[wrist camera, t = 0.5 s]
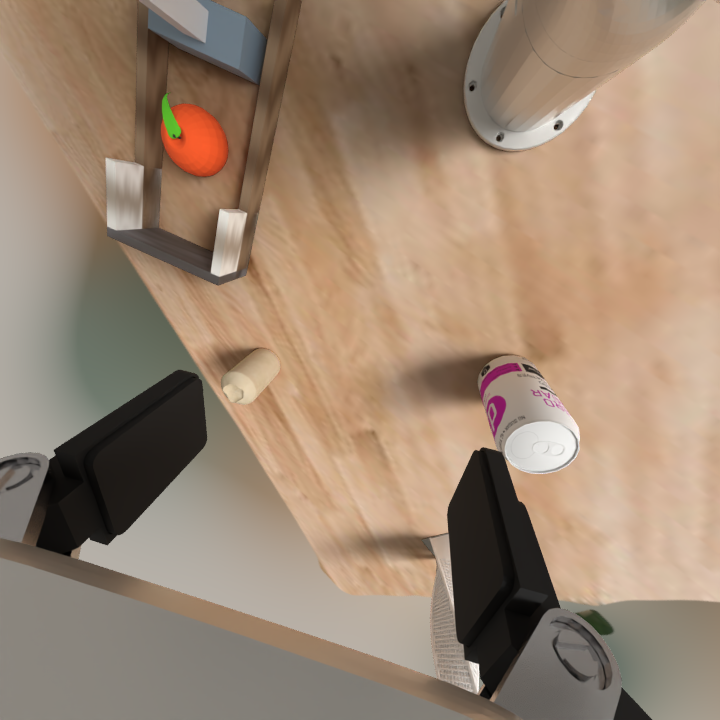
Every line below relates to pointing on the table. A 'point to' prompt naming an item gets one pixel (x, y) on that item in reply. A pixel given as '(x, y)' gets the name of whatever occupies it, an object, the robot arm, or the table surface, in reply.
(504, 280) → the table surface
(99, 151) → the table surface
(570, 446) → the supplement can
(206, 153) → the clementine
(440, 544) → the skyscraper
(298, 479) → the table surface
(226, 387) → the candle
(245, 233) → the frame
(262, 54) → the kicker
